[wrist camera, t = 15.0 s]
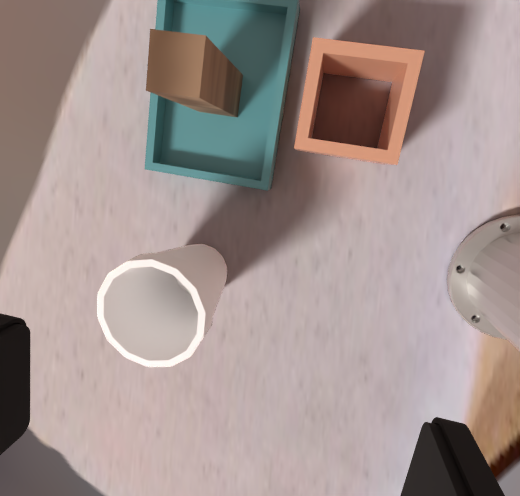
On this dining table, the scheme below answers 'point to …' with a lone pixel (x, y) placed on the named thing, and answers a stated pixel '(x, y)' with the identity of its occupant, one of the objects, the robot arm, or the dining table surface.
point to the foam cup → (162, 303)
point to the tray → (251, 100)
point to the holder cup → (368, 67)
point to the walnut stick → (193, 73)
